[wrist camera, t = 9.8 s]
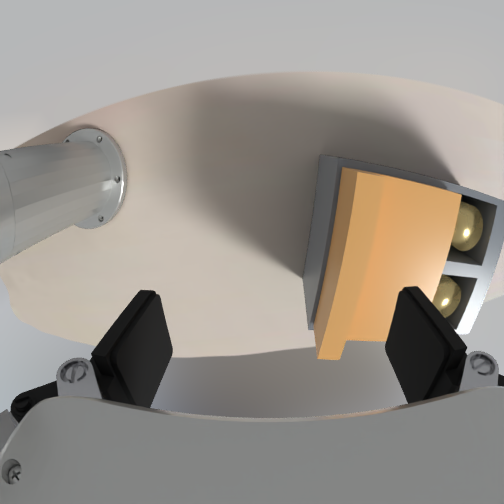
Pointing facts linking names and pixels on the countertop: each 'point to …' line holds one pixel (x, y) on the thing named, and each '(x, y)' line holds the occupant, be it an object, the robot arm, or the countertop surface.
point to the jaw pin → (467, 227)
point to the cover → (380, 254)
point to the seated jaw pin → (447, 296)
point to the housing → (458, 262)
